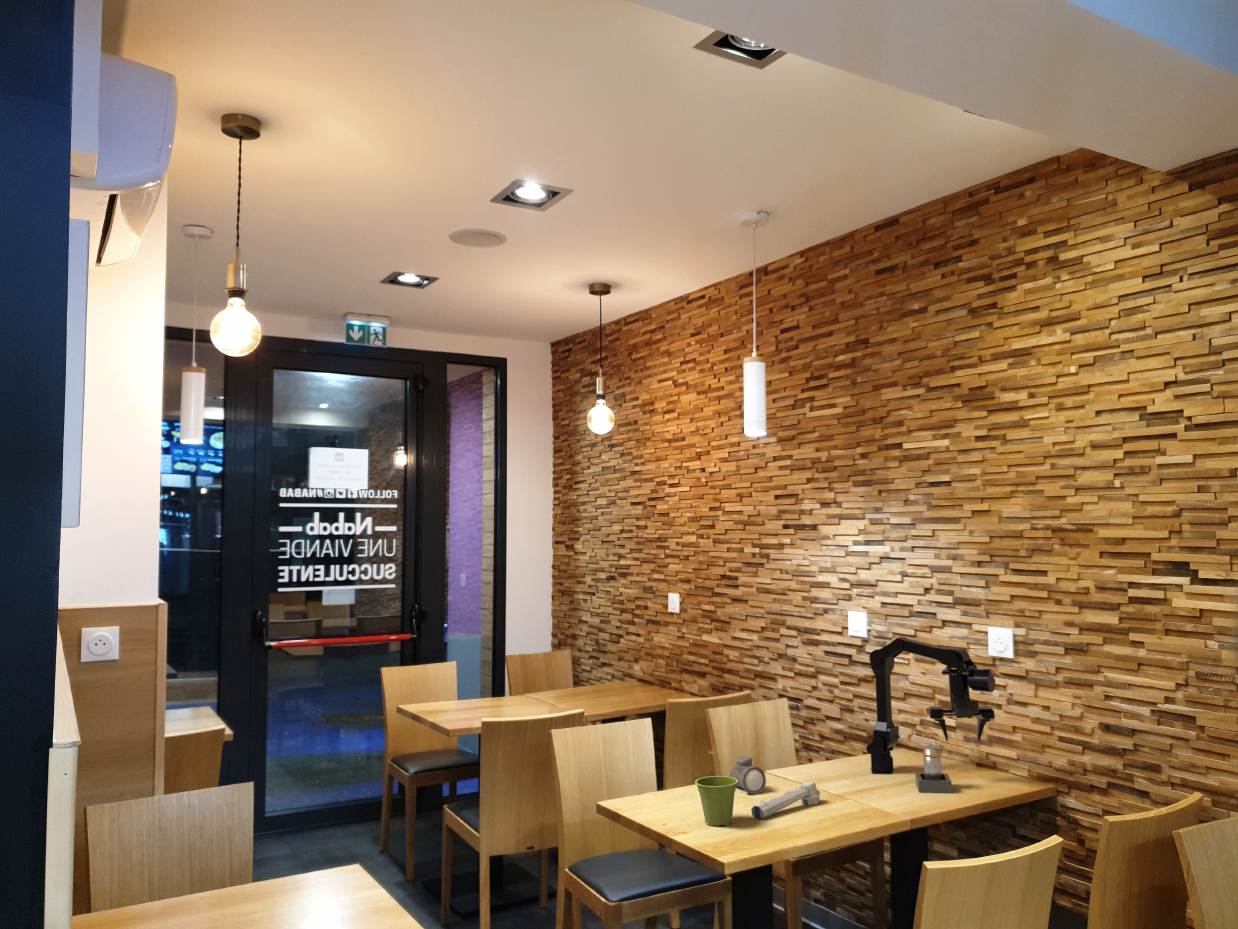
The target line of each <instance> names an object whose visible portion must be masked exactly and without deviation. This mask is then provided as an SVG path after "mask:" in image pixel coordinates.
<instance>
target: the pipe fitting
mask: <svg viewBox="0 0 1238 929" xmlns="http://www.w3.org/2000/svg"><path fill="white" fill-rule="evenodd" d="M735 761H736V762H735V765H734V768H732V769H731V770H730V772H729V775H728V777H733V778H736V779H737V780H738V783H737V784H736V788H741V789H743V791H745V792H746V793H747V794H750V795H758V794H760V793H761V792H762V791H764V789H765V788H766V785H767V777H766V773H765V772H764V770H763V769H762V768H761V767H758V766H755V765H754V764H753V757H752V756H742V757H738V758H737V759H735Z"/></svg>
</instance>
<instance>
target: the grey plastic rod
mask: <svg viewBox="0 0 1238 929" xmlns="http://www.w3.org/2000/svg"><path fill="white" fill-rule="evenodd" d="M816 785H817V784H816V783H815V781H813V780H806V781H804V782H803V783H802V784H801V786H799V787H796V788H794V789H790V790H789V791H786V792H783V793H781V794H778V795H775V796H774V797H771V798H769V799H766V800H761V801H760V802H759V803H758V804H757V803H756V804H755V805H753V806H752V808H751V809H750V811H751V816H753V818H754V819H755V820H758V821H761V820H763V819H766V818H770V817H771V816H772V815H774V814H775V813H777V812H779V811H781V810H783V809H785V808H787V807H788V806H790V805H793V804H795V803H796V802H799V801H801V804H802V805H804V806H812V805H815V806H816V805H818V804H819V803H820V802H821V800H820V796H821V791H820V790H819V789H818V788H817V786H816Z"/></svg>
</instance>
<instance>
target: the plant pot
mask: <svg viewBox="0 0 1238 929" xmlns="http://www.w3.org/2000/svg"><path fill="white" fill-rule="evenodd" d="M694 783H695V785H696V786H697V790H698V793H699V797H700V801H701V806H702V811H703V816H704V821H705V823H706V824H707V823H708V824H711V825H710V826H713V825H715V826H714V827H720V826H728V825H730V824H731V823H732V822H733V814H734V813H733V812H734V802H735V801H734V800H735V792H736V788H737V787H736V784H737V783H738V780H737V779H736V778H733V777H729V776H726V775H724V776H722V775H711V776H710V775H709V776H703V777H699V778H697V779H695V781H694ZM708 824H707V825H708Z"/></svg>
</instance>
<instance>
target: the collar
mask: <svg viewBox="0 0 1238 929" xmlns="http://www.w3.org/2000/svg"><path fill="white" fill-rule="evenodd" d="M914 775H915V786H916V788H917V791H918V793H919V794H921V793H922V794H924V793H925V794H953V784H952V783H953V782H952V779H951V778H950V775H949V774H948V773H947V772H945V773H943V772H942V780H925V778H924V772H915V774H914Z"/></svg>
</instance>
